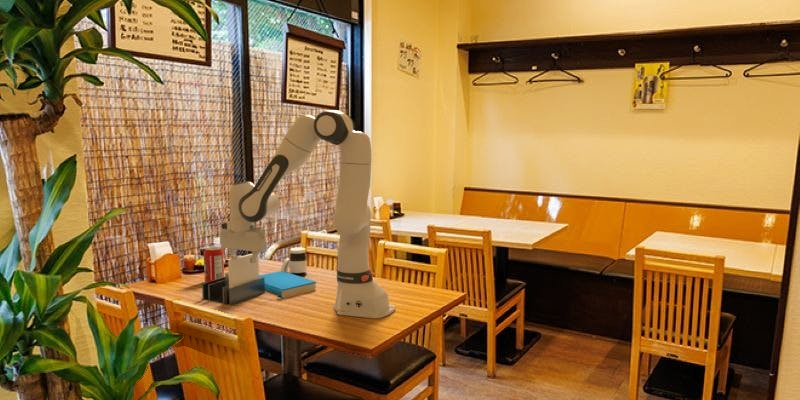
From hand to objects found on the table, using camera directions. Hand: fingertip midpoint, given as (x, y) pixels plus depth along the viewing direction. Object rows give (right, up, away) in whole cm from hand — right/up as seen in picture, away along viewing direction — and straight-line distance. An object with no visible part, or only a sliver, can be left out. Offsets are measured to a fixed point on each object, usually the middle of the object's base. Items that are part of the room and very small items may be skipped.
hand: (243, 261), depth 204 cm
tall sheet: (0, -14, +2) cm, 14 cm away
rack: (-5, -15, +4) cm, 16 cm away
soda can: (-20, -12, +27) cm, 36 cm away
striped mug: (+11, -11, +42) cm, 45 cm away
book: (+10, -14, +20) cm, 26 cm away
